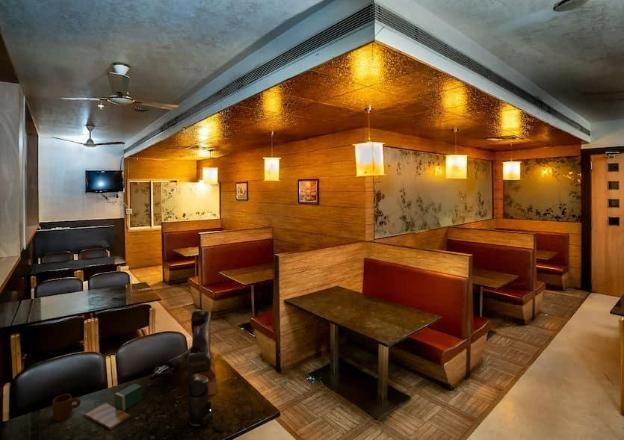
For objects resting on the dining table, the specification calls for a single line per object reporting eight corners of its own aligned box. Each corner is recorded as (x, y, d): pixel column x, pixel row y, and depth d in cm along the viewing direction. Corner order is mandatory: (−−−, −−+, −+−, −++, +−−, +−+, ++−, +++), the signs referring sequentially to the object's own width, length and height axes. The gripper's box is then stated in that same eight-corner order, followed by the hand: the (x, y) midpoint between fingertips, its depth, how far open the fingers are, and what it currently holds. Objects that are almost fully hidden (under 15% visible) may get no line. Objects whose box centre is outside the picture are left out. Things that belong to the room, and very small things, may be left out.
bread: (193, 374, 208) (192, 350, 206) (214, 370, 212) (214, 347, 210) (192, 398, 184) (191, 371, 183) (217, 394, 188) (216, 368, 187)
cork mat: (130, 416, 169) (130, 414, 169) (110, 429, 160) (110, 427, 160) (105, 404, 178) (105, 402, 178) (85, 415, 170) (85, 414, 169)
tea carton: (142, 399, 183) (141, 386, 182) (122, 411, 173) (121, 397, 172) (135, 396, 185) (134, 383, 185) (115, 408, 176) (114, 393, 175)
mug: (85, 410, 174) (84, 392, 173) (77, 420, 166) (75, 402, 165) (59, 412, 172) (58, 394, 171) (49, 422, 165) (48, 403, 164)
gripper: (168, 355, 208) (142, 368, 193) (184, 360, 202) (158, 375, 187) (168, 367, 209) (142, 381, 193) (184, 373, 203) (159, 388, 187)
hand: (150, 378), depth 190 cm, fingers closed
